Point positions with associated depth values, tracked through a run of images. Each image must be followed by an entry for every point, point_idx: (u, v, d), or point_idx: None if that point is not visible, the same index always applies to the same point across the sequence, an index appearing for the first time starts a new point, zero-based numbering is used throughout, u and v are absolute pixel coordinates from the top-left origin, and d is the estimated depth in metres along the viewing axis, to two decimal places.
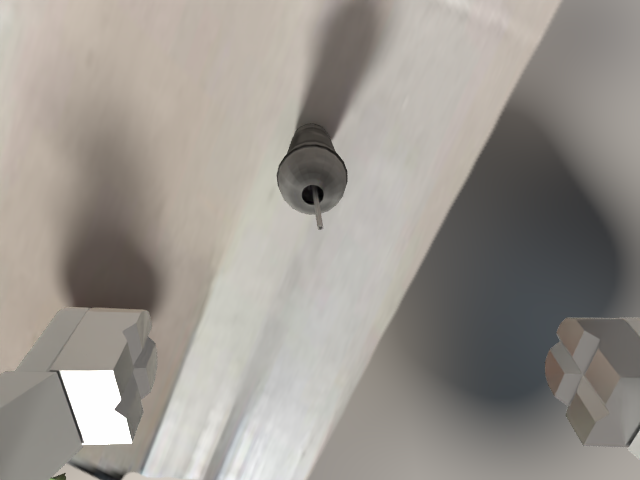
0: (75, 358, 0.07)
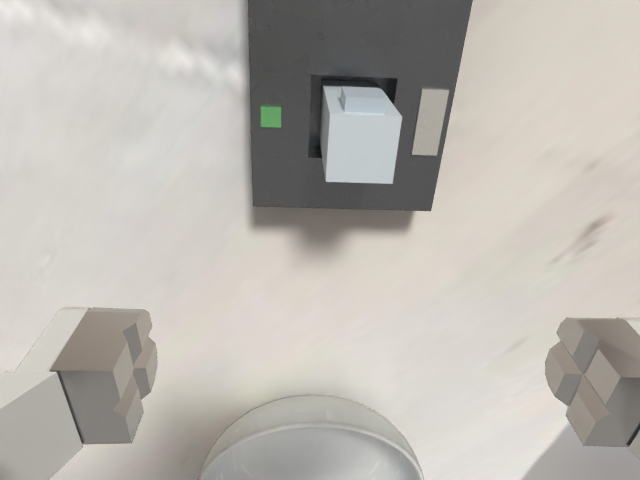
0: (75, 358, 0.07)
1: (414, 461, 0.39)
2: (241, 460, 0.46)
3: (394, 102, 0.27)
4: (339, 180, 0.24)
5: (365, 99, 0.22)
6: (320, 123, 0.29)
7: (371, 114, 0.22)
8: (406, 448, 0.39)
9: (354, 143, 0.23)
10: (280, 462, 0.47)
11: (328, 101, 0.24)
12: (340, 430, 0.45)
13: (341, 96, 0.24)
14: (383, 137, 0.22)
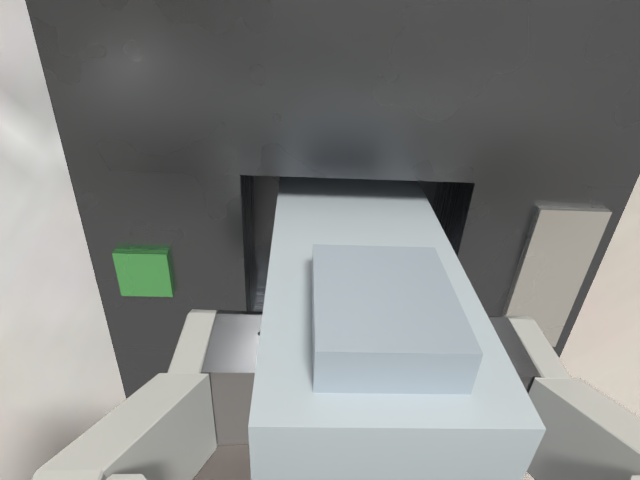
0: (221, 360, 0.07)
1: None
2: None
3: (461, 237, 0.11)
4: None
5: (397, 356, 0.05)
6: None
7: (418, 406, 0.06)
8: None
9: None
10: None
11: (269, 295, 0.07)
12: None
13: (312, 281, 0.07)
14: None
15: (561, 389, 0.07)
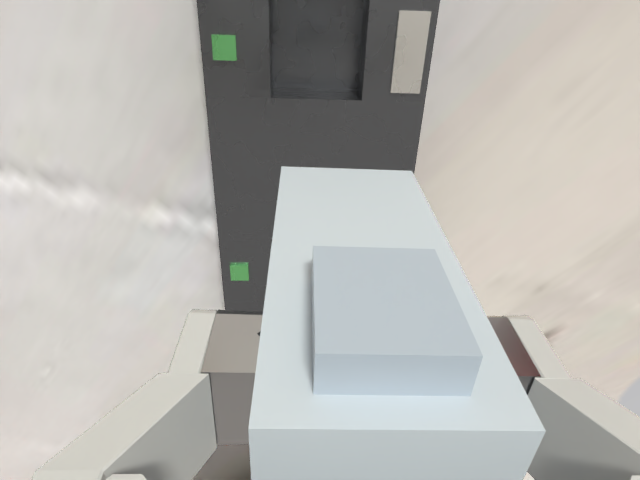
0: (221, 360, 0.07)
1: None
2: None
3: None
4: None
5: (398, 357, 0.05)
6: None
7: (418, 408, 0.06)
8: None
9: None
10: None
11: (269, 297, 0.07)
12: None
13: (312, 282, 0.07)
14: None
15: (561, 389, 0.07)
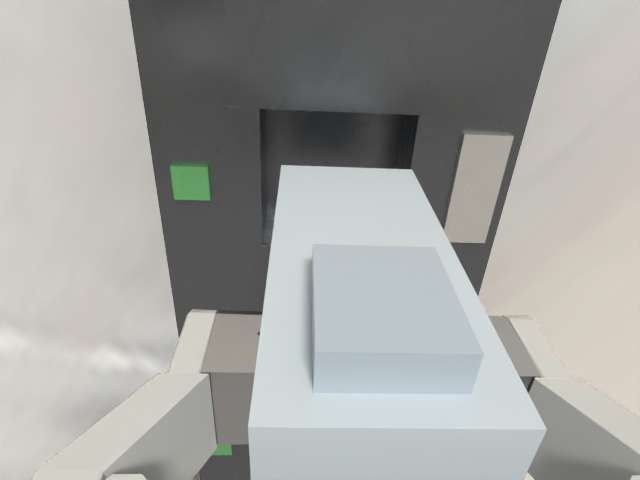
0: (221, 360, 0.07)
1: None
2: None
3: None
4: None
5: (397, 356, 0.05)
6: None
7: (419, 407, 0.06)
8: None
9: None
10: None
11: (269, 295, 0.07)
12: None
13: (312, 280, 0.07)
14: None
15: (561, 389, 0.07)
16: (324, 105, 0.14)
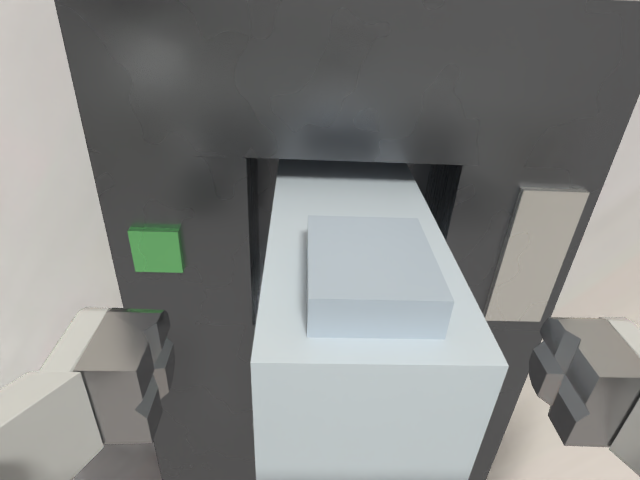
0: (98, 358, 0.07)
1: None
2: None
3: None
4: None
5: (380, 302, 0.06)
6: None
7: (398, 348, 0.06)
8: None
9: (341, 432, 0.07)
10: None
11: (269, 261, 0.08)
12: None
13: (307, 247, 0.08)
14: (439, 416, 0.07)
15: None
16: (334, 153, 0.10)
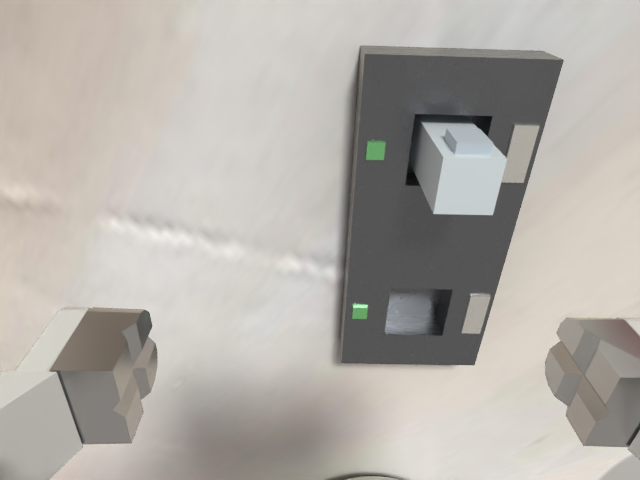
0: (75, 358, 0.07)
1: None
2: None
3: (449, 302, 0.37)
4: (445, 212, 0.27)
5: (474, 143, 0.25)
6: (414, 154, 0.32)
7: (479, 156, 0.25)
8: None
9: (462, 181, 0.26)
10: None
11: (435, 142, 0.27)
12: None
13: (446, 137, 0.27)
14: (489, 176, 0.25)
15: None
16: (446, 111, 0.29)
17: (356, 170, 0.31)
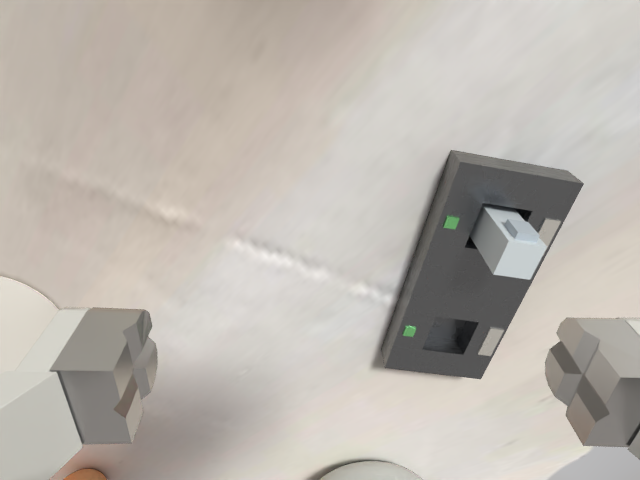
0: (75, 358, 0.07)
1: None
2: None
3: (474, 331, 0.51)
4: (501, 274, 0.40)
5: (528, 234, 0.39)
6: (473, 226, 0.45)
7: (529, 242, 0.39)
8: None
9: (516, 257, 0.39)
10: None
11: (499, 227, 0.40)
12: None
13: (507, 225, 0.40)
14: (533, 255, 0.39)
15: None
16: (503, 204, 0.43)
17: (434, 233, 0.44)
